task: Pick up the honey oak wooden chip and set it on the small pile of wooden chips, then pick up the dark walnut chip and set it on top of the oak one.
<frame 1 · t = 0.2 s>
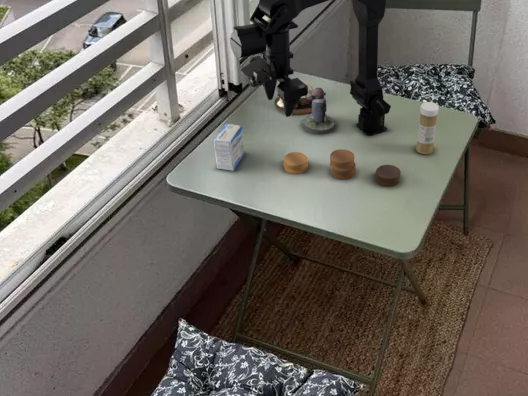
hand: (279, 107, 165), 14 cm above the table, tool pointing down, fingers open, 9 cm apart
walnut chip: (387, 179, 168), on the table
figurine: (318, 126, 187), on the table
chip pile: (343, 172, 170), on the table
skull: (295, 105, 195), on the table
oak chip: (295, 166, 171), on the table
sprinkles bottle: (424, 151, 180), on the table
medicine box: (230, 162, 171), on the table
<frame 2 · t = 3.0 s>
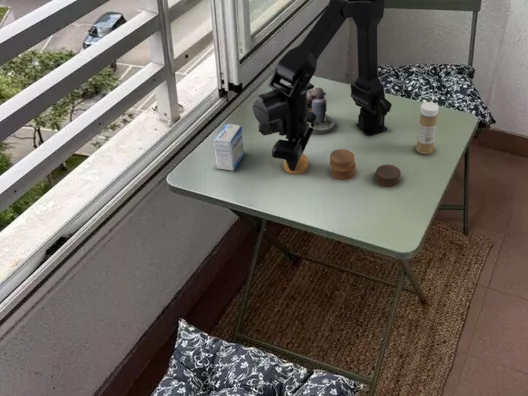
hand: (295, 163, 170), 1 cm above the table, tool pointing down, fingers closed on oak chip, 6 cm apart
oak chip: (295, 166, 171), on the table, touching gripper
everything else where it was.
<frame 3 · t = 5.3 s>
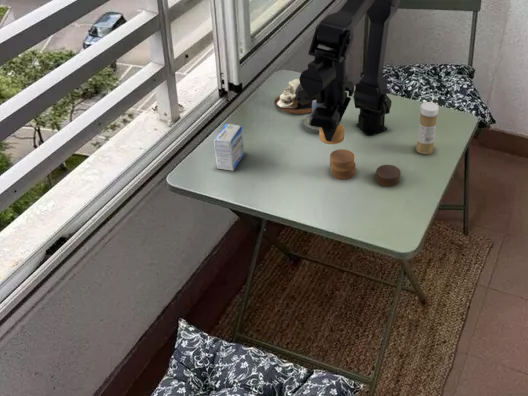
hand: (331, 133, 164), 11 cm above the table, tool pointing down, fingers closed on oak chip, 6 cm apart
oak chip: (331, 137, 164), point 10 cm above the table, touching gripper
everything else where it was.
when the fingers open (6 cm above the table, at t = 7.5 s): oak chip stays where it is, resting on chip pile.
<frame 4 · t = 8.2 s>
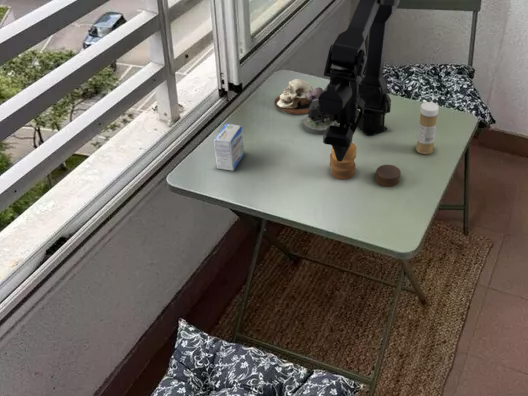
hand: (343, 150, 166), 7 cm above the table, tool pointing down, fingers open, 9 cm apart
oak chip: (343, 155, 167), point 5 cm above the table, touching chip pile
everything else where it was.
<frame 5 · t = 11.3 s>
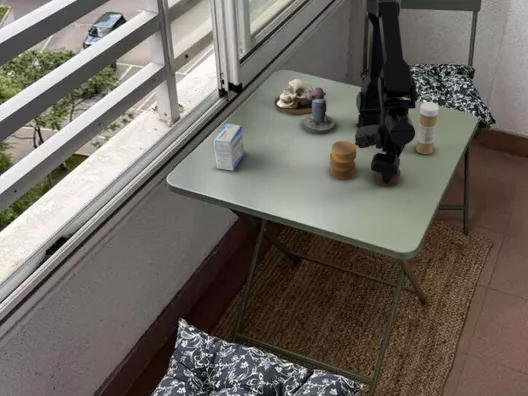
hand: (388, 176, 168), 1 cm above the table, tool pointing down, fingers closed on walnut chip, 6 cm apart
walnut chip: (387, 179, 168), on the table, touching gripper
everything else where it was.
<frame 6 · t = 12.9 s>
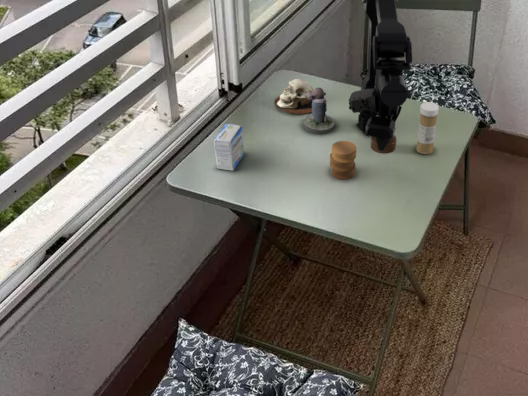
hand: (383, 143, 162), 10 cm above the table, tool pointing down, fingers closed on walnut chip, 6 cm apart
walnut chip: (383, 146, 163), point 9 cm above the table, touching gripper
everything else where it was.
when the fingers open (9 cm above the table, at t = 14.9 s): walnut chip stays where it is, resting on oak chip.
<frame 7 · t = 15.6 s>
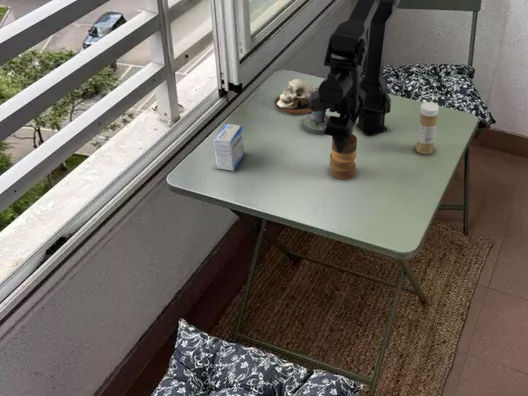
hand: (344, 142, 164), 9 cm above the table, tool pointing down, fingers open, 9 cm apart
walnut chip: (344, 147, 165), point 7 cm above the table, touching oak chip
oak chip: (343, 155, 167), point 5 cm above the table, touching chip pile, walnut chip
everything else where it was.
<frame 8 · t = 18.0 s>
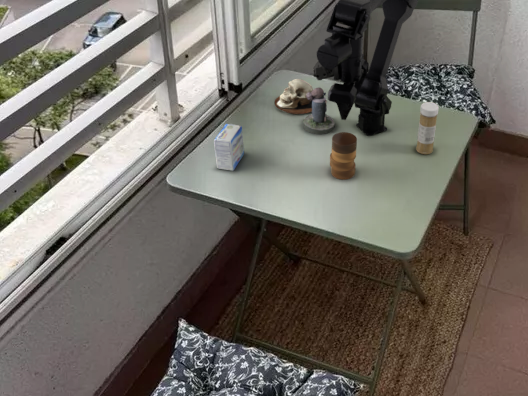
hand: (347, 110, 170), 12 cm above the table, tool pointing down, fingers open, 9 cm apart
nothing on the table moved.
at the end: oak chip 0.0 cm off-centre on the chip pile, point 5.0 cm above the chip pile's base; walnut chip 0.0 cm off-centre on the chip pile, point 7.5 cm above the chip pile's base; walnut chip tilted 0° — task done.
